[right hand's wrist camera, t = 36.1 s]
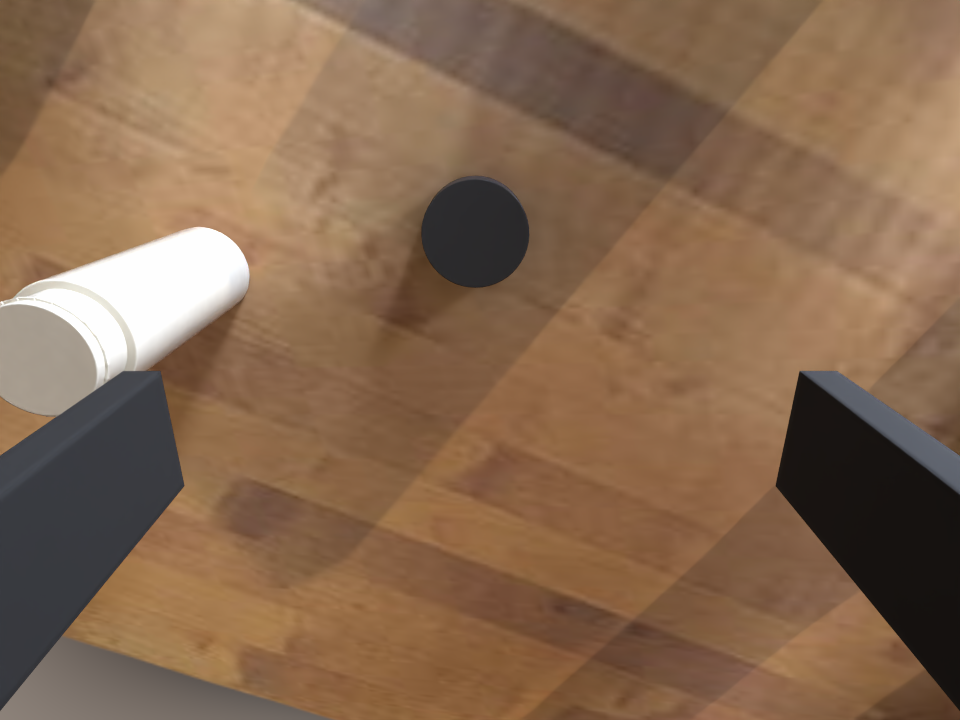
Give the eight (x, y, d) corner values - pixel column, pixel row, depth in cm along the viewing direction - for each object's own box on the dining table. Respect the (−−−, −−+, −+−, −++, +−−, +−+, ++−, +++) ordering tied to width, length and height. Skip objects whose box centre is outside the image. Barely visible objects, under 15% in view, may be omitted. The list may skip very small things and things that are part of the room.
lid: (426, 278, 38) (423, 287, 35) (423, 175, 35) (419, 178, 33) (524, 278, 38) (527, 287, 35) (527, 175, 35) (530, 179, 33)
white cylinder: (144, 270, 37) (-65, 361, 23) (195, 208, 36) (7, 263, 22) (215, 329, 39) (60, 449, 25) (267, 271, 38) (135, 362, 23)
